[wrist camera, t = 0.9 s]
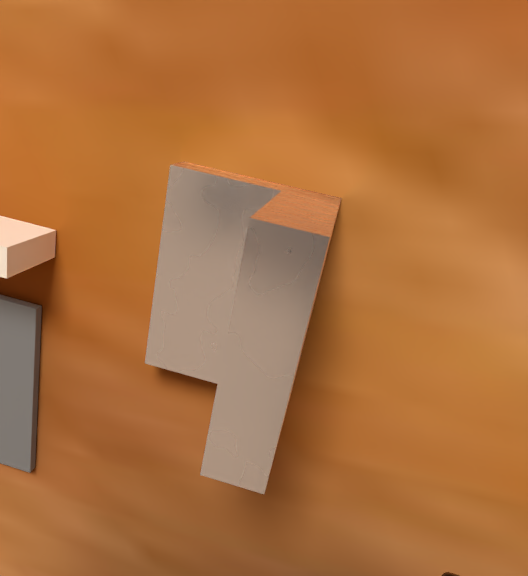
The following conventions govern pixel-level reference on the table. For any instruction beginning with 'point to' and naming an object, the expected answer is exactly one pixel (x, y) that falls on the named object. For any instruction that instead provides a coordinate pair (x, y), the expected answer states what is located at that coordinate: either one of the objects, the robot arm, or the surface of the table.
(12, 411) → the pad
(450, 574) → the robot arm
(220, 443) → the aluminium bracket
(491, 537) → the table surface
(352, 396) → the table surface
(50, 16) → the table surface
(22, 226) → the white l-shaped block
